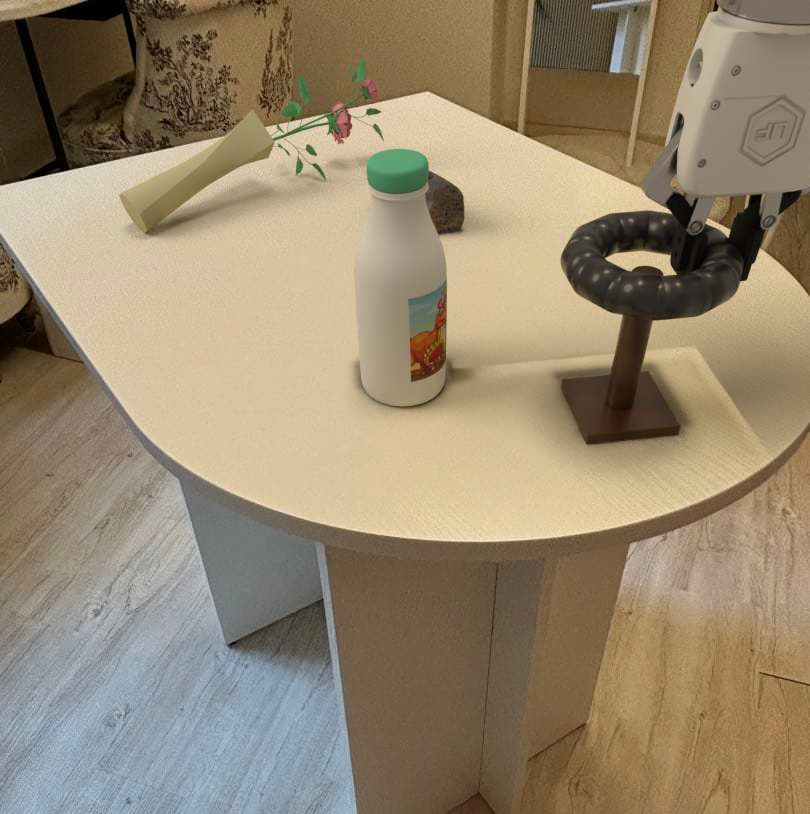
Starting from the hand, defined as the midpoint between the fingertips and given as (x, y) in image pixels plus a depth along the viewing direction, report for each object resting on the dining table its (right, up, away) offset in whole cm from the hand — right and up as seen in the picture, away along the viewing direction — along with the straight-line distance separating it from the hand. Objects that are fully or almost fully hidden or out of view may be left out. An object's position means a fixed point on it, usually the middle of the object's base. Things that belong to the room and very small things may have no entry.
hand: (708, 272), depth 61 cm
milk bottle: (-23, -6, +12) cm, 27 cm away
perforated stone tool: (-23, +17, +34) cm, 44 cm away
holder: (-5, -9, +9) cm, 14 cm away
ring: (-5, 0, -1) cm, 5 cm away
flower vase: (-42, +24, +41) cm, 63 cm away
